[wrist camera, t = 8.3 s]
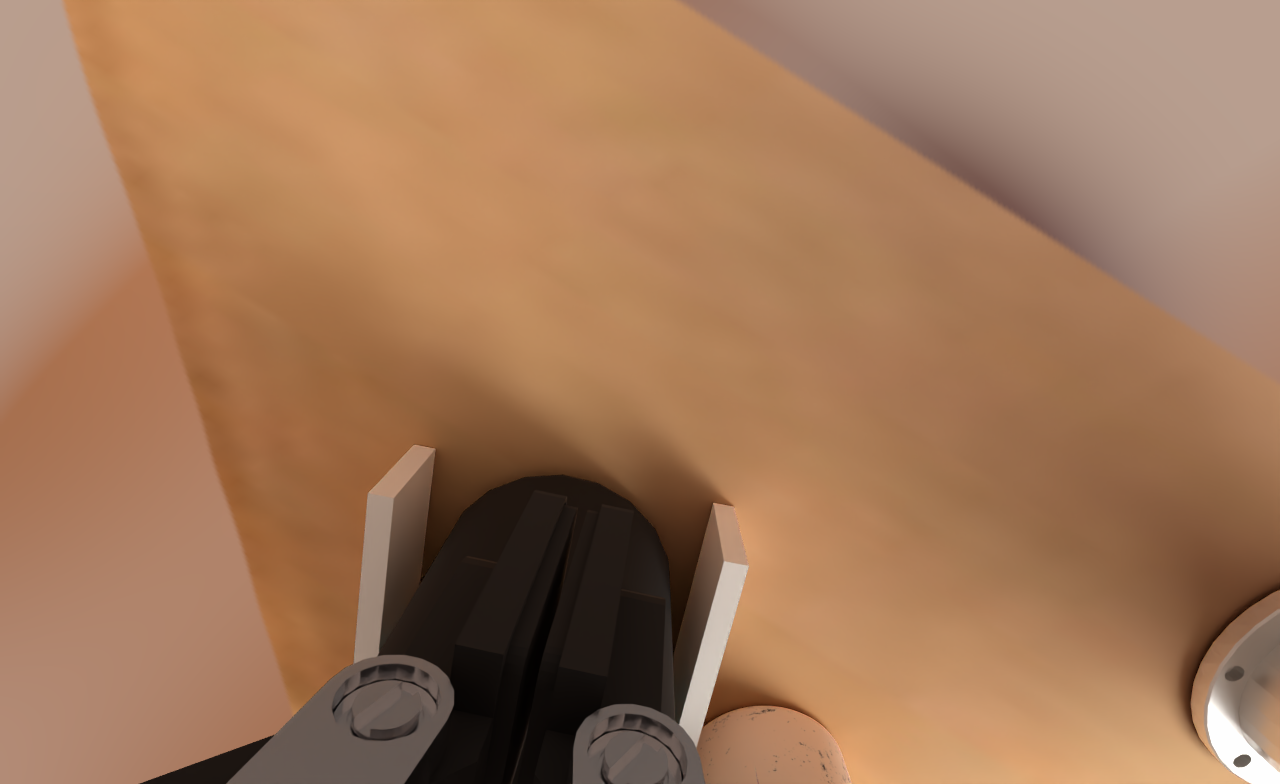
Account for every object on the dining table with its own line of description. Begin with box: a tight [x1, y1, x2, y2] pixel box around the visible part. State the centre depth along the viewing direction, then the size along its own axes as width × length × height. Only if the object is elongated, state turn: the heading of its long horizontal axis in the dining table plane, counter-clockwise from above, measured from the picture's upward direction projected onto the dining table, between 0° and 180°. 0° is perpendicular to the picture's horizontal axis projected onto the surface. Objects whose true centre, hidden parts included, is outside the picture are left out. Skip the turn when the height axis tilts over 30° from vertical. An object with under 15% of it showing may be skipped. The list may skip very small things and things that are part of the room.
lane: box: [353, 445, 749, 748], centre depth 26 cm, size 15×17×14 cm
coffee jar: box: [378, 475, 675, 784], centre depth 23 cm, size 11×11×18 cm
